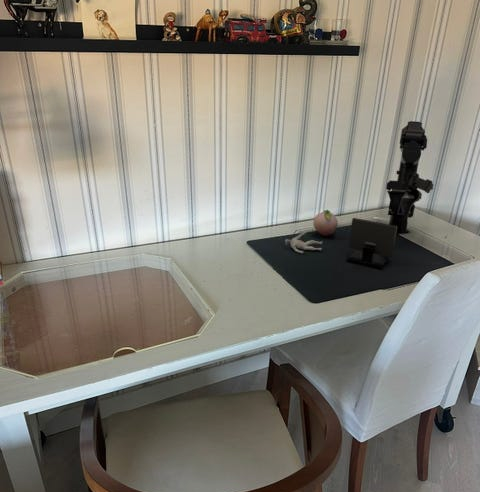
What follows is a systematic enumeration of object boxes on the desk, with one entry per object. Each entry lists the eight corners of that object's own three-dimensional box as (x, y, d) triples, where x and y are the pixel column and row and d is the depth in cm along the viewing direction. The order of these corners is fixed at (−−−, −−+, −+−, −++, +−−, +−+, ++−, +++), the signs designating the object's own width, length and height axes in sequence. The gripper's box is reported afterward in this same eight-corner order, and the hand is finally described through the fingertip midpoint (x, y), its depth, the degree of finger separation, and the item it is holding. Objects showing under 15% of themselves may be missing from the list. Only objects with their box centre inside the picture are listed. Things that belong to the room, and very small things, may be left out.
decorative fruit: (309, 231, 182) (312, 205, 178) (331, 231, 183) (334, 205, 178) (315, 240, 173) (318, 213, 169) (338, 240, 174) (341, 213, 170)
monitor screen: (349, 246, 161) (353, 217, 157) (392, 255, 155) (397, 225, 150) (347, 248, 160) (351, 219, 155) (390, 257, 153) (395, 227, 149)
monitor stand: (355, 253, 164) (357, 238, 162) (388, 260, 159) (391, 245, 157) (347, 261, 157) (349, 246, 155) (380, 269, 152) (383, 253, 150)
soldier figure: (321, 257, 162) (288, 247, 160) (314, 262, 167) (282, 252, 164) (323, 236, 165) (291, 226, 162) (317, 241, 170) (285, 231, 167)
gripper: (425, 163, 150) (416, 214, 151) (440, 175, 165) (432, 221, 166) (389, 162, 156) (381, 211, 157) (407, 174, 171) (400, 219, 172)
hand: (400, 216), depth 163 cm, fingers open, 9 cm apart
